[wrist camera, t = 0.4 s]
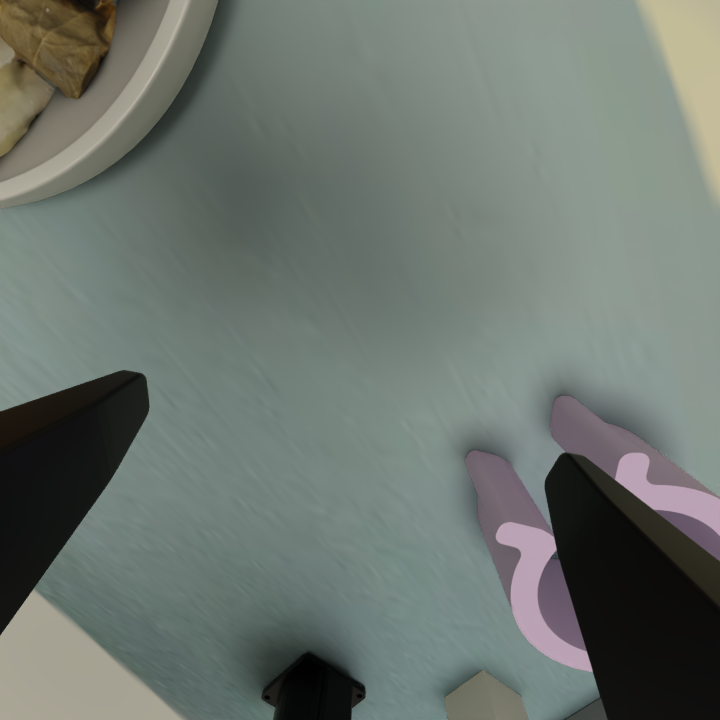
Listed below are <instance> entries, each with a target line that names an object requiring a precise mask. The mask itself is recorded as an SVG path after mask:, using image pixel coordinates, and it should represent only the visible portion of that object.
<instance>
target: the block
mask: <svg viewBox="0 0 720 720" xmlns="http://www.w3.org/2000/svg"><path fill="white" fill-rule="evenodd" d="M444 699H445V705H446V712H447V718H448V720H529V719H528V716H527V713H526V710H525V707H524V704H523V701H522V698H521V696H520V695H518V694H517V693H516V692H514V691H513V690H511V689H510V688H508V687H507V686H505V685H504V684H503V683H501V682H500V681H498V680H497V679H495V678H494V677H493V676H491V675H490V674H488V673H487V672H485V671H484V670H482V671H481V672H479V673H478V674H477V675H475V676H474V677H472V678H471V679H470V680H468V681H467V682H465V683H464V684H462V685H461V686H460V687H458V688H457V689H455V690H454V691H453V692H451V693H450V694H448V695H447V696H446V697H444Z"/></svg>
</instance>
